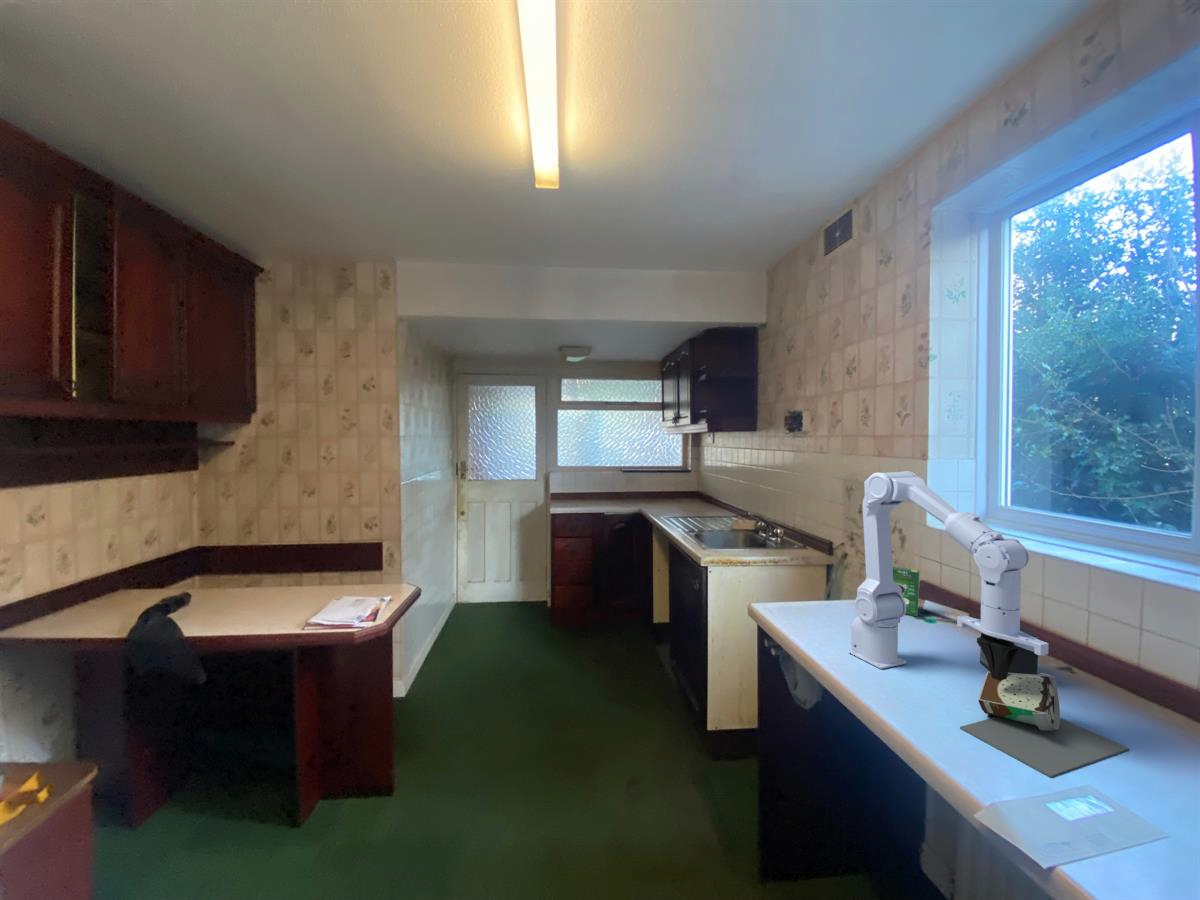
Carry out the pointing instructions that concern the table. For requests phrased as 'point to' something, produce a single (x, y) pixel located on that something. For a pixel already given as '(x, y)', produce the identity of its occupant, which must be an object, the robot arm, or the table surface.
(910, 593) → the coffee box
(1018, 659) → the small box
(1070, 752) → the mat
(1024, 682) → the food container
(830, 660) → the table surface
